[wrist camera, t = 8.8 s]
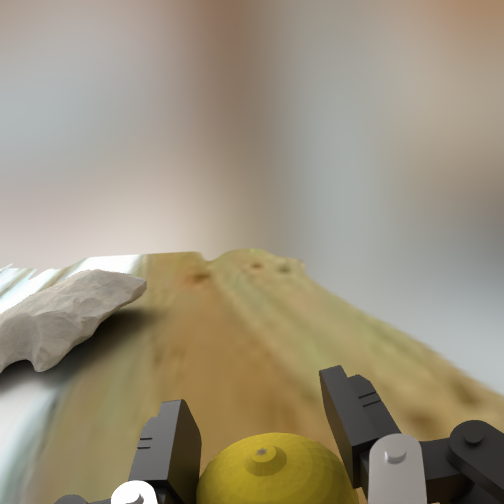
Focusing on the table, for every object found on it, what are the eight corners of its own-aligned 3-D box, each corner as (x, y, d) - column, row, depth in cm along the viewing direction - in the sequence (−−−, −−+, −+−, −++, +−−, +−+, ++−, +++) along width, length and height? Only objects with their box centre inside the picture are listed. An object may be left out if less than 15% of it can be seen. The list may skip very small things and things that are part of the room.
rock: (-17, 309, 35) (119, 236, 45) (7, 349, 37) (138, 279, 48) (-52, 374, 19) (148, 265, 29) (-11, 426, 21) (177, 328, 31)
